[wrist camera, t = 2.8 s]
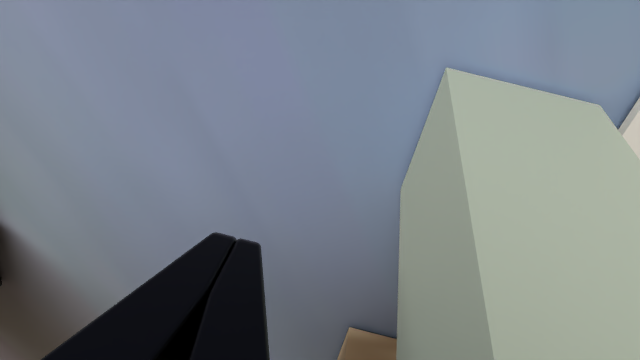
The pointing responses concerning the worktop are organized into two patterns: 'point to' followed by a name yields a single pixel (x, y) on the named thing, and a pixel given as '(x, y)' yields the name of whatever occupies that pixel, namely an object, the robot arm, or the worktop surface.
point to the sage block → (518, 229)
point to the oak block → (367, 346)
